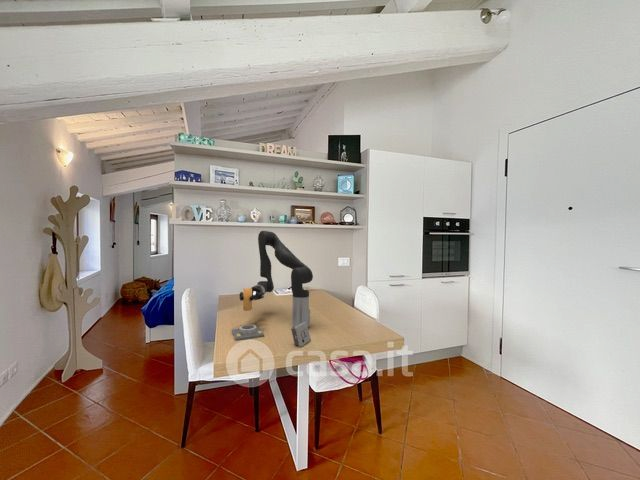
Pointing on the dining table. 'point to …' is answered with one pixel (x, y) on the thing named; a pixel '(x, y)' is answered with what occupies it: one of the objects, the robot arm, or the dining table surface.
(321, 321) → the dining table surface
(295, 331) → the electrical switch
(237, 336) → the grey square mounting plate
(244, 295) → the wire nut
